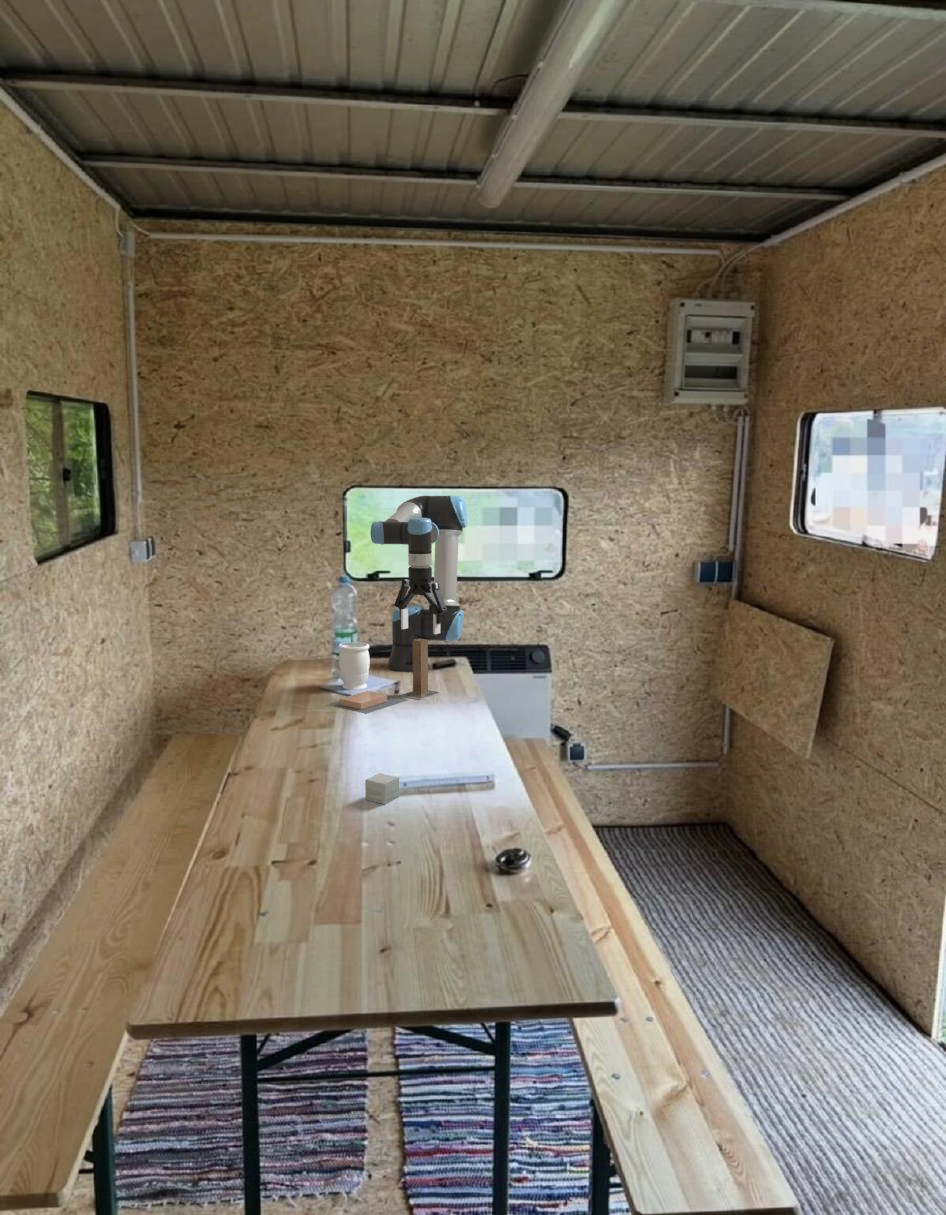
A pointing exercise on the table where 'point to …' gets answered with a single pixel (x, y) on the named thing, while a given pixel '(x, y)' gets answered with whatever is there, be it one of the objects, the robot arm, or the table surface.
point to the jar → (354, 664)
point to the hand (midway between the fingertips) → (420, 631)
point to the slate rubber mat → (390, 702)
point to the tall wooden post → (420, 671)
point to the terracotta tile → (363, 700)
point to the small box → (382, 788)
